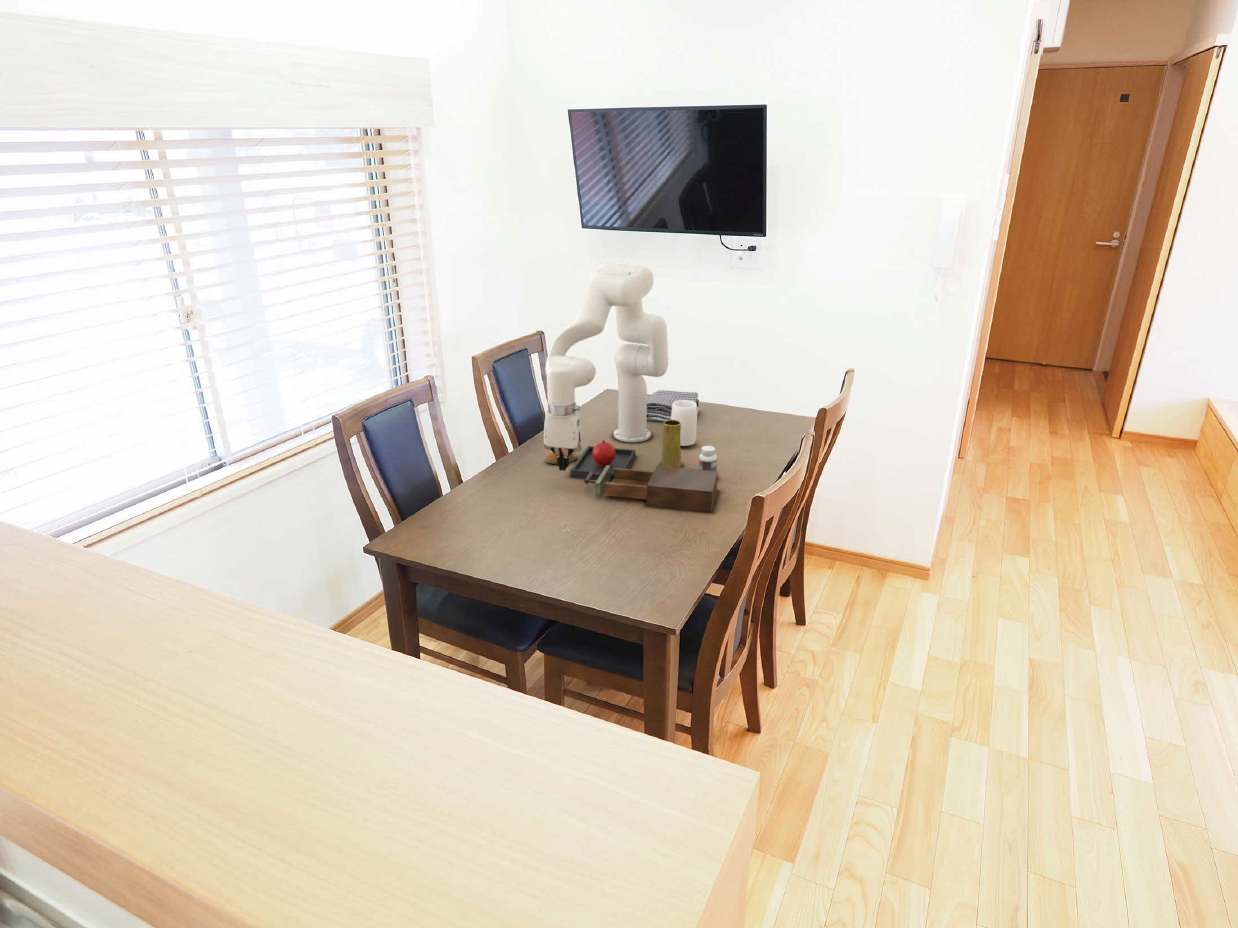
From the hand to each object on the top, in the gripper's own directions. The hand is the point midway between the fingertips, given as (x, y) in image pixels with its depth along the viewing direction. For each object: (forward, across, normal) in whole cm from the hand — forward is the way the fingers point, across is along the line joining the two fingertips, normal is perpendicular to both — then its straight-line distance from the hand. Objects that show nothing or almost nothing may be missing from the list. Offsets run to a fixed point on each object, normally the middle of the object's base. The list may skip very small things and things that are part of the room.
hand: (563, 468), depth 226 cm
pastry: (+6, +6, -19) cm, 21 cm away
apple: (+5, -8, -17) cm, 19 cm away
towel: (+6, -20, -66) cm, 69 cm away
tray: (+6, -8, -17) cm, 20 cm away
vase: (+6, -28, -22) cm, 36 cm away
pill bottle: (+6, -40, -15) cm, 43 cm away
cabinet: (+6, -35, 0) cm, 35 cm away
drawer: (+5, -17, 0) cm, 18 cm away
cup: (+6, -29, -40) cm, 50 cm away
